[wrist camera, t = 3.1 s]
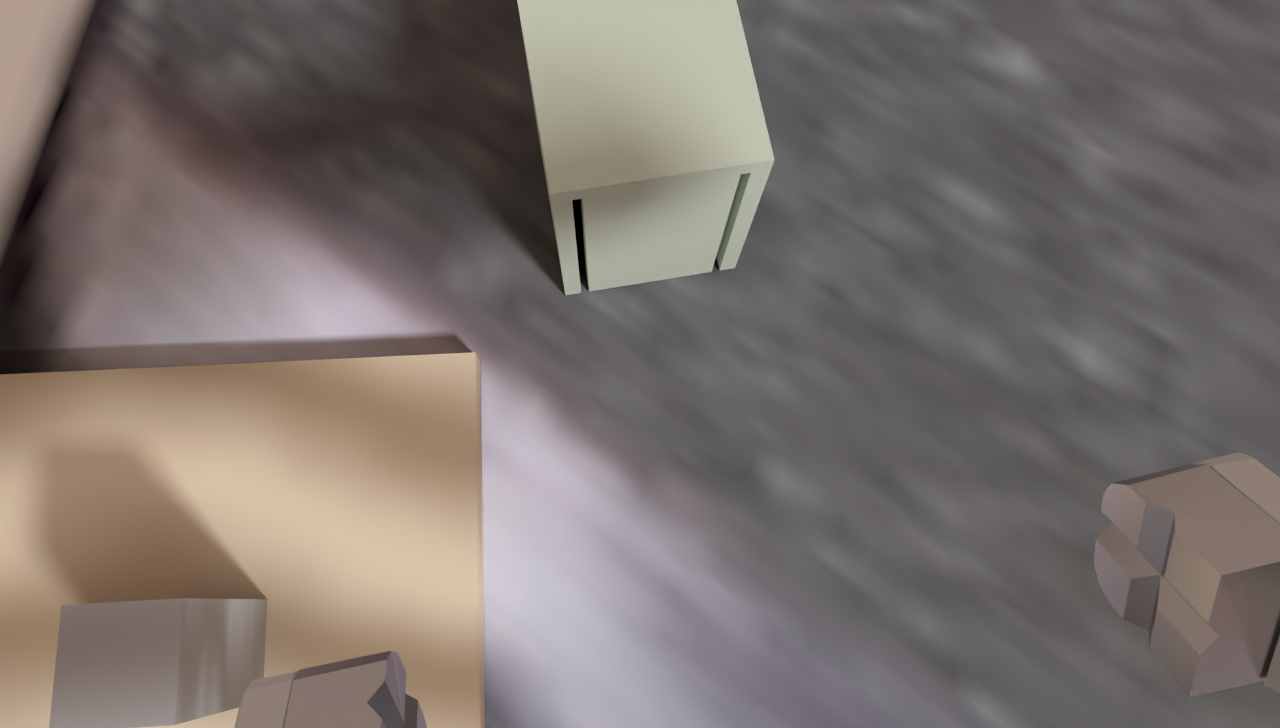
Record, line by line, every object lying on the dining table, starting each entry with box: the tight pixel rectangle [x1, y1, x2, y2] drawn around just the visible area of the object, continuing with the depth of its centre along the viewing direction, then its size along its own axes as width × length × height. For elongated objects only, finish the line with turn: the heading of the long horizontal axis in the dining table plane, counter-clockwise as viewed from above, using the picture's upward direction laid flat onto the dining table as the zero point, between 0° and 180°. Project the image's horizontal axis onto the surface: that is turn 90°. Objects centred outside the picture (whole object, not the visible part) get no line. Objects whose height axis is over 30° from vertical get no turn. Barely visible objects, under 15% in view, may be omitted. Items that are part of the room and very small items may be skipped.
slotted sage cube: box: [517, 0, 774, 295], centre depth 26 cm, size 5×5×7 cm
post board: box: [0, 352, 485, 728], centre depth 22 cm, size 16×14×6 cm
